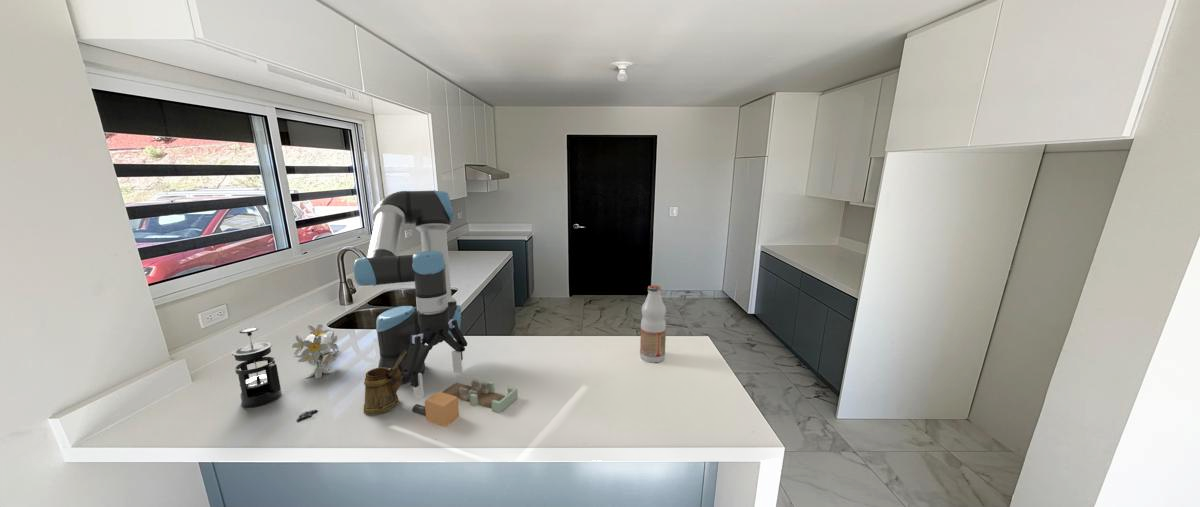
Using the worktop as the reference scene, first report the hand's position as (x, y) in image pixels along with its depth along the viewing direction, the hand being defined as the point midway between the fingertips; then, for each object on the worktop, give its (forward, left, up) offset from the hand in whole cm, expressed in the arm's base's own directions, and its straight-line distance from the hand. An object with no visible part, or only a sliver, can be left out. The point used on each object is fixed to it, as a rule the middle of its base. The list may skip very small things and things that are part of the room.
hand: (439, 384), depth 103 cm
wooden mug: (-21, -1, -12) cm, 24 cm away
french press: (-60, -14, -12) cm, 62 cm away
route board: (+1, +13, -12) cm, 17 cm away
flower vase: (-68, +7, -12) cm, 69 cm away
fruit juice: (+43, +61, -12) cm, 76 cm away
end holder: (+7, +13, -11) cm, 18 cm away
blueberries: (-38, -14, -12) cm, 42 cm away
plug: (-4, 0, -12) cm, 12 cm away
